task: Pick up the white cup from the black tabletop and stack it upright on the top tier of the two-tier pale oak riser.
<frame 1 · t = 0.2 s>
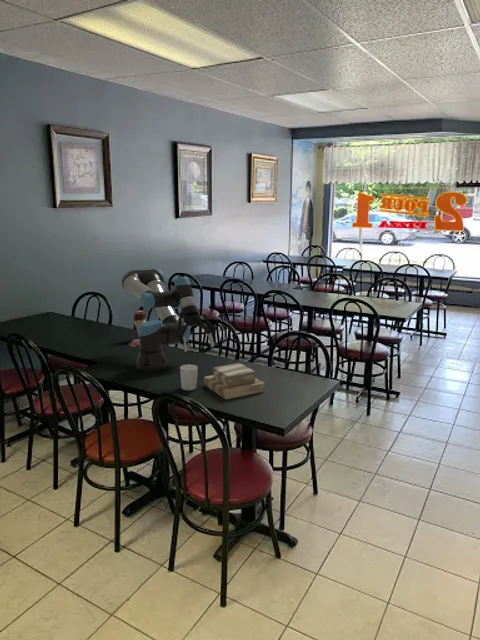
hand: (199, 348, 236), 15 cm above the table, tool tilted 35°, fingers open, 13 cm apart
ice cream: (138, 342, 301), on the table
oak riser: (233, 388, 230), on the table
white cup: (188, 388, 229), on the table
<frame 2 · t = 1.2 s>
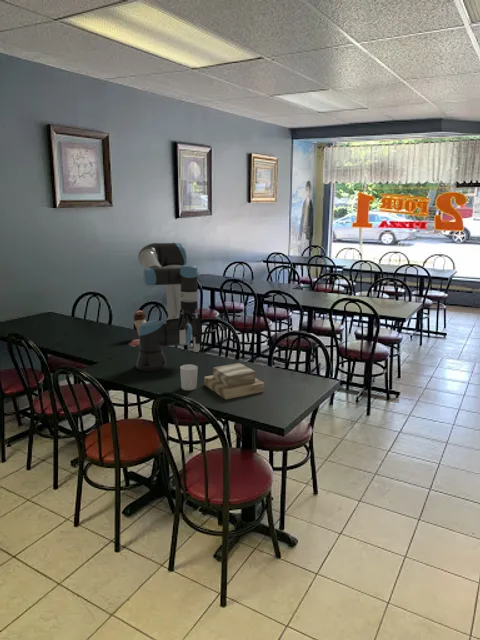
hand: (189, 347, 225), 19 cm above the table, tool pointing down, fingers open, 13 cm apart
nothing on the table moved.
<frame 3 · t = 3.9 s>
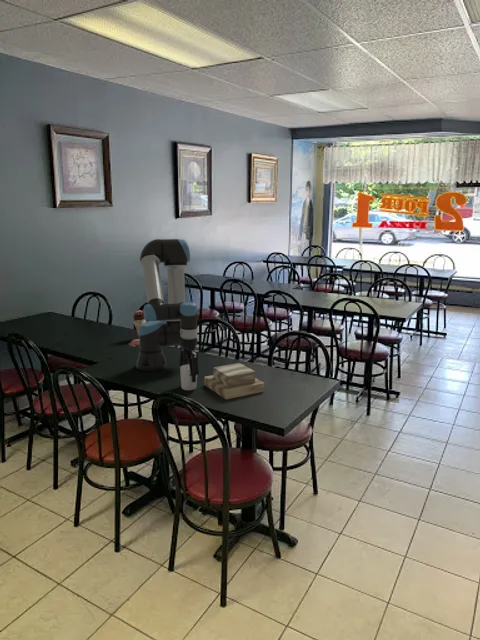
hand: (188, 385, 229), 1 cm above the table, tool pointing down, fingers closed on white cup, 8 cm apart
white cup: (188, 388, 229), on the table, touching gripper
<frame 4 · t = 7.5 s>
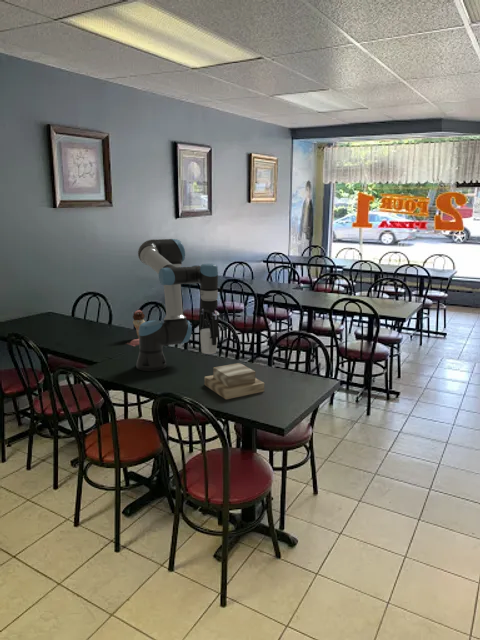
hand: (208, 349, 224), 19 cm above the table, tool pointing down, fingers closed on white cup, 8 cm apart
white cup: (208, 352, 225), point 17 cm above the table, touching gripper
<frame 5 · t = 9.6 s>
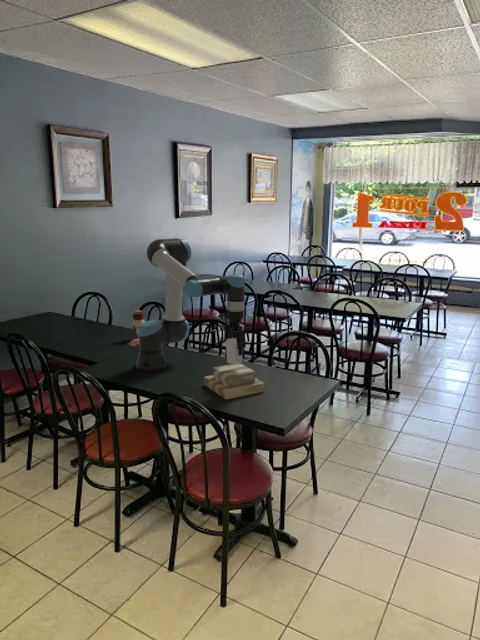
hand: (234, 359, 226), 14 cm above the table, tool pointing down, fingers closed on white cup, 8 cm apart
white cup: (234, 362, 227), point 13 cm above the table, touching gripper
when the fingers open (11 cm above the table, at t = 11.3 s): white cup stays where it is, resting on oak riser.
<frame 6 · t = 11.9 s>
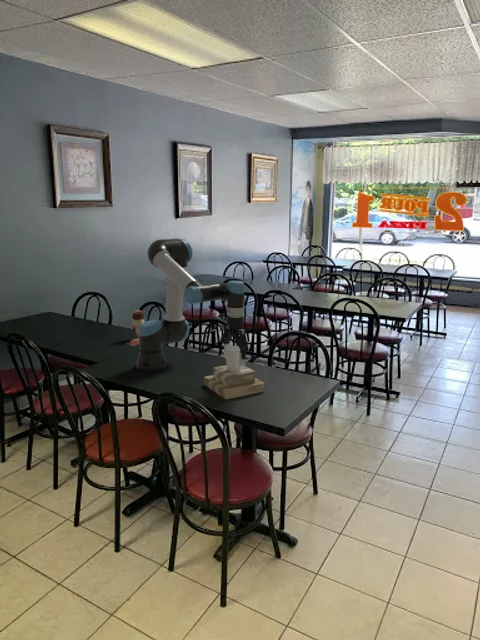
hand: (234, 361, 227), 13 cm above the table, tool pointing down, fingers open, 13 cm apart
white cup: (234, 369, 228), point 9 cm above the table, touching oak riser
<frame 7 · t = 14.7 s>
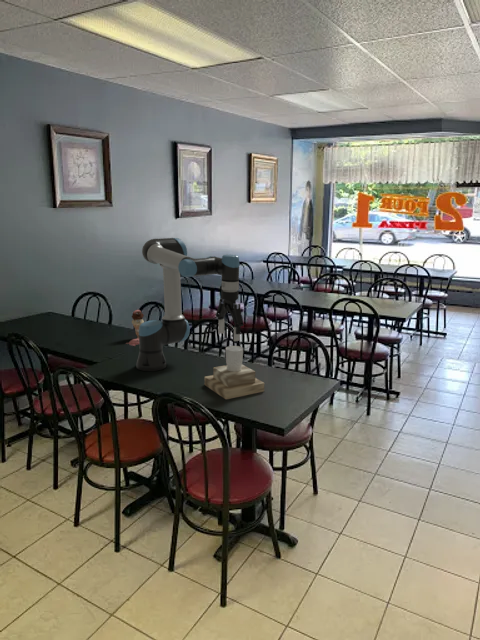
hand: (228, 337, 225), 24 cm above the table, tool pointing down, fingers open, 13 cm apart
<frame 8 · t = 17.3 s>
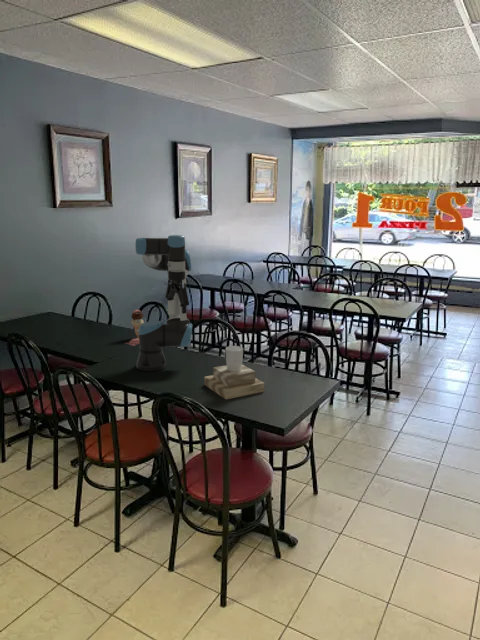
hand: (177, 317, 227), 32 cm above the table, tool pointing down, fingers open, 13 cm apart
at the end: white cup inside the target area on the oak riser (0.1 cm from its centre), point 8.8 cm above the oak riser's base; white cup tilted 0°; the gripper is holding nothing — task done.
